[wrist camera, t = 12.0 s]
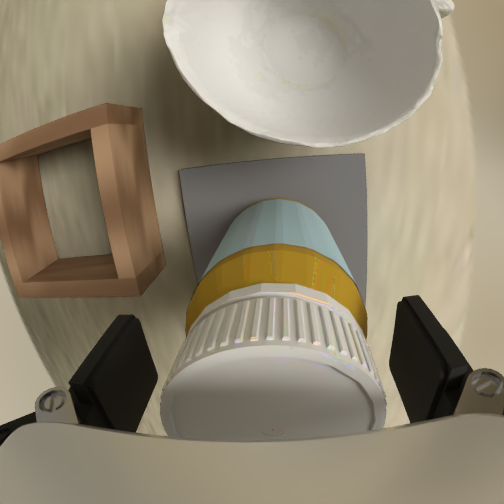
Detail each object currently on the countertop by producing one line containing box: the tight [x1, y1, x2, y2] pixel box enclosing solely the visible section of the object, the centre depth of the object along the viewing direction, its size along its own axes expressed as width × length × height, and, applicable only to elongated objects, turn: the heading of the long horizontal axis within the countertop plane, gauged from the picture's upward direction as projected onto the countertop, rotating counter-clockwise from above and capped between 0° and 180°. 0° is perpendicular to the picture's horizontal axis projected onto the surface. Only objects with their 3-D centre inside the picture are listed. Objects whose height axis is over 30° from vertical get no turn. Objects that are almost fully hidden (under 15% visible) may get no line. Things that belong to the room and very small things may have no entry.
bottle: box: [160, 198, 387, 440], centre depth 15 cm, size 7×7×15 cm
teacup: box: [162, 0, 454, 148], centre depth 14 cm, size 15×12×8 cm
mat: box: [179, 154, 367, 306], centre depth 22 cm, size 12×12×1 cm
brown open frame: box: [0, 103, 166, 297], centre depth 20 cm, size 11×11×5 cm
